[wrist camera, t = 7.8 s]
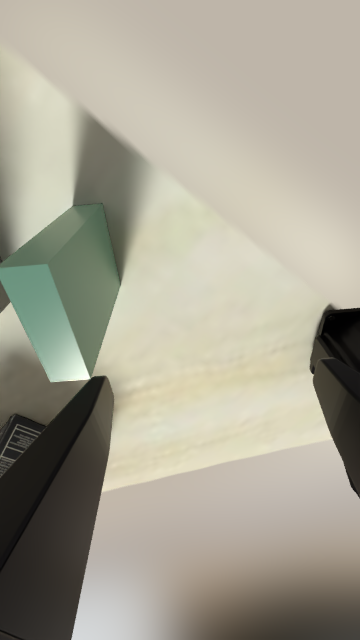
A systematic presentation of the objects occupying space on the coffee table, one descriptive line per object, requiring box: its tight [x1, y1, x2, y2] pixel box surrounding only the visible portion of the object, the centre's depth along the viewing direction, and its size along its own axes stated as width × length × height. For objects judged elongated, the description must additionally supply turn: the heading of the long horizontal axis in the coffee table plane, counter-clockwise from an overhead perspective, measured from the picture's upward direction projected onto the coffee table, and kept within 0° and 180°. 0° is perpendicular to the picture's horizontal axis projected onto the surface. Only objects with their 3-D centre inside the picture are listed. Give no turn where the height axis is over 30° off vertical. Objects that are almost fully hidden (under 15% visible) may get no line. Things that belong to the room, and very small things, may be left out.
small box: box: [0, 415, 46, 477], centre depth 27 cm, size 11×6×10 cm, turn 49°
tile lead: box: [0, 203, 121, 382], centre depth 15 cm, size 2×6×9 cm, turn 4°
